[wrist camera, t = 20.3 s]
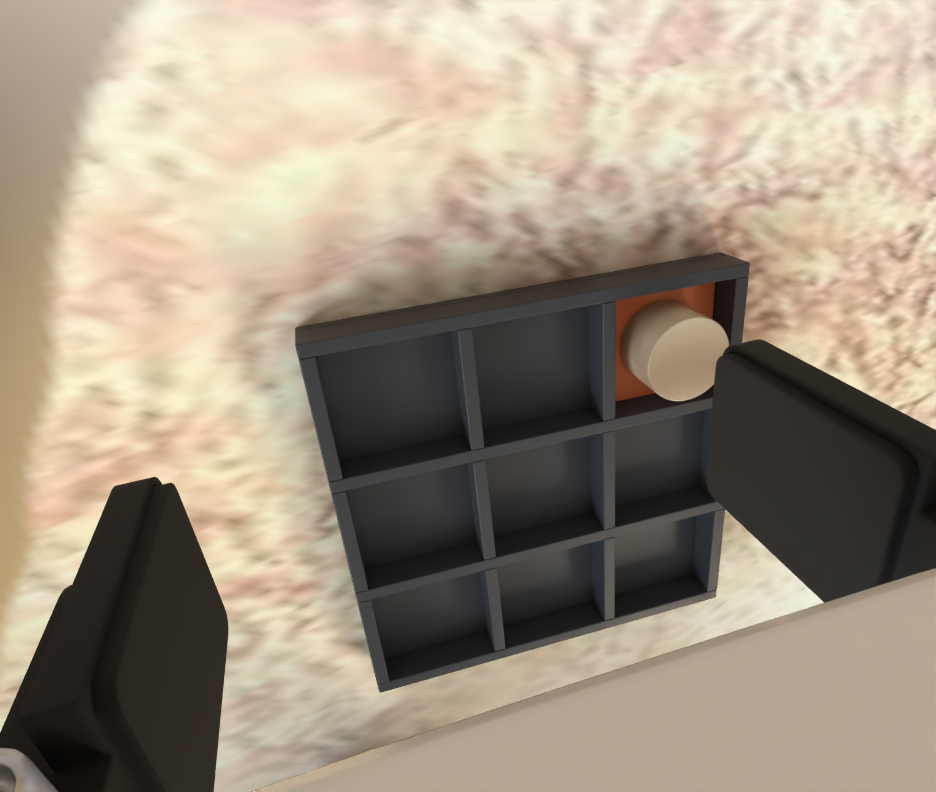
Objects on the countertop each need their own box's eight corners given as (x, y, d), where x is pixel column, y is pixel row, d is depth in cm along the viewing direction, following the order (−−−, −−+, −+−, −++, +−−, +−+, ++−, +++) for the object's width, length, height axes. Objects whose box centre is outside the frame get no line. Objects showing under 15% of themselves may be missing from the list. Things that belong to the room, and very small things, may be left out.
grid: (295, 327, 29) (295, 344, 27) (720, 252, 33) (750, 262, 31) (374, 661, 39) (379, 693, 37) (695, 572, 43) (716, 597, 40)
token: (619, 307, 32) (649, 326, 29) (697, 293, 32) (733, 309, 30) (619, 385, 34) (646, 409, 31) (692, 370, 34) (725, 392, 32)
